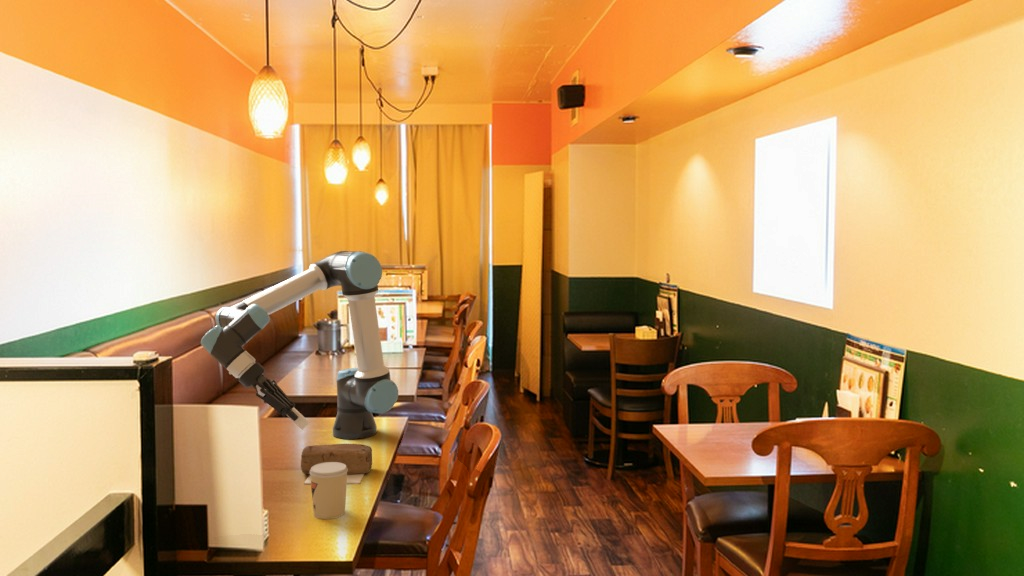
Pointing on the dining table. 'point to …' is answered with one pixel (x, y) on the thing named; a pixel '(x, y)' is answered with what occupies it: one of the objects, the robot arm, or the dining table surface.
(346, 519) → the dining table surface
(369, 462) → the block
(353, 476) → the mat
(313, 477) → the coffee cup
